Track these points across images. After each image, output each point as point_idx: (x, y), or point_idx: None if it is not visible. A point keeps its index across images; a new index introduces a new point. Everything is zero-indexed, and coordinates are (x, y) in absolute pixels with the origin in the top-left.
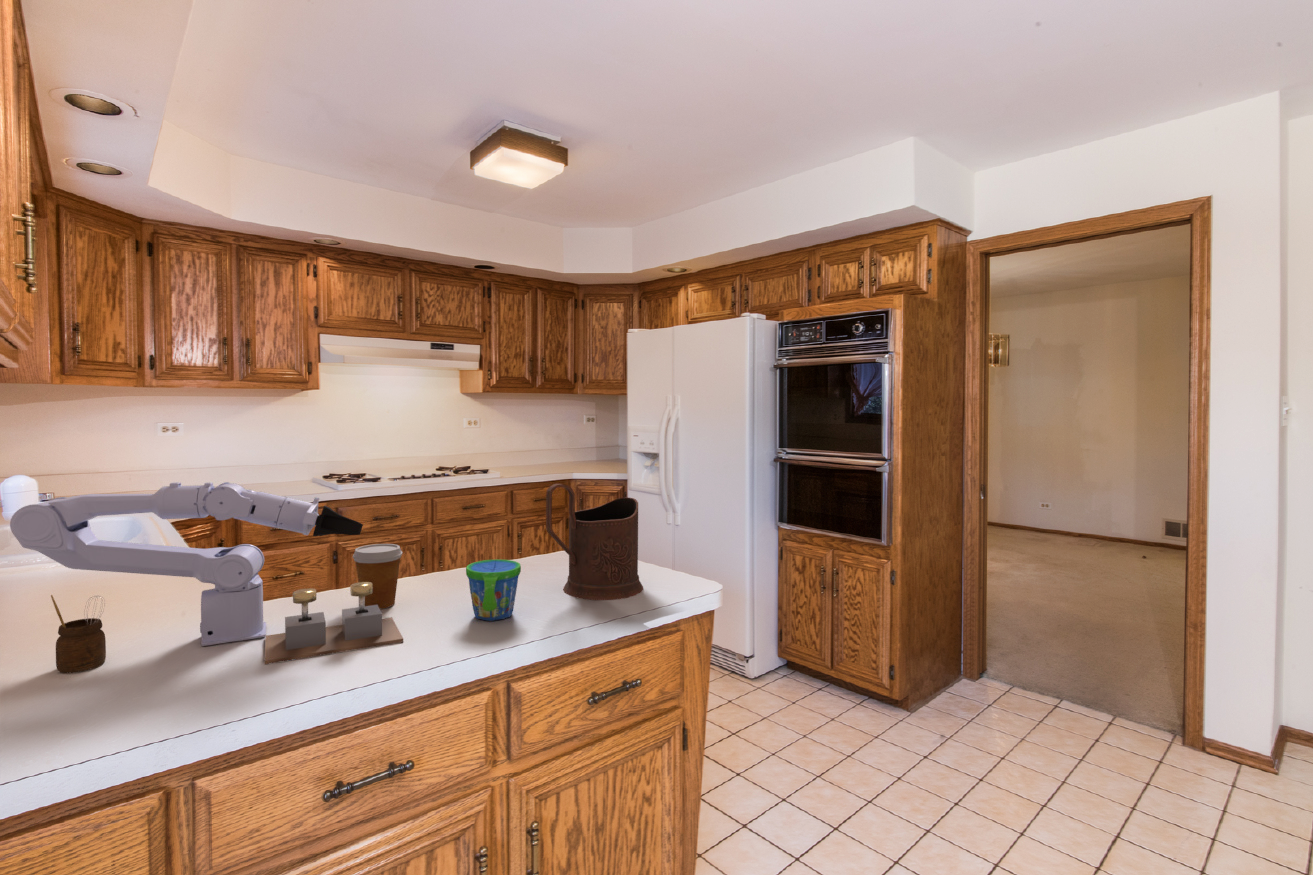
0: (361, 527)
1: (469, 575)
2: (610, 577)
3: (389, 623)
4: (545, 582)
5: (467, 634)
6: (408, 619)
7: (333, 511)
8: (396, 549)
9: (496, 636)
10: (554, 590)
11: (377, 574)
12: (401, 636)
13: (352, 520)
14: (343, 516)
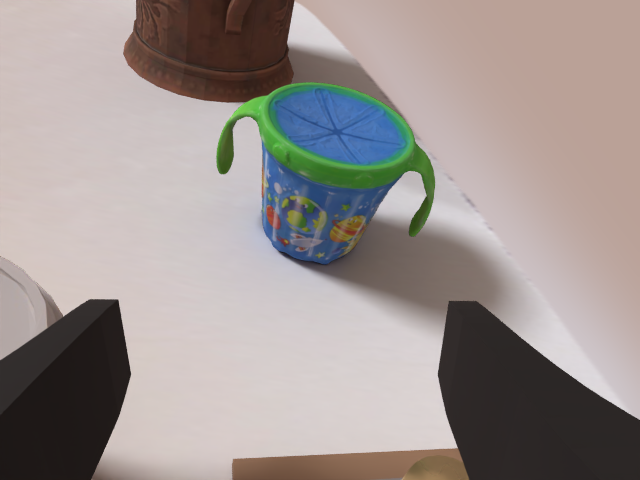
0: (121, 326)
1: (371, 183)
2: (287, 36)
3: (302, 474)
4: (94, 91)
5: (429, 307)
6: (245, 412)
7: (634, 460)
8: (20, 268)
9: (454, 265)
10: (174, 104)
11: None
12: (445, 451)
13: (517, 339)
14: (581, 385)
